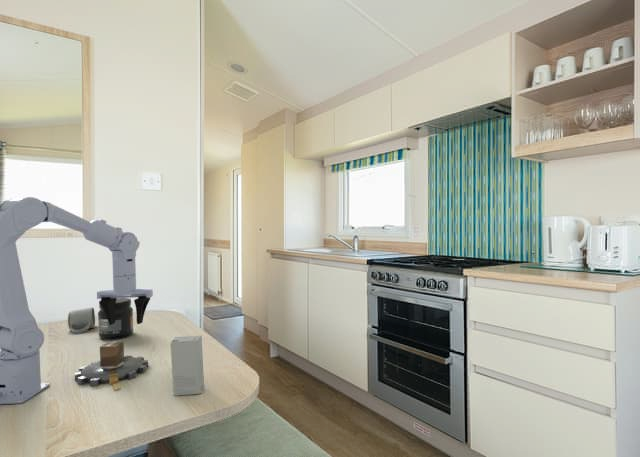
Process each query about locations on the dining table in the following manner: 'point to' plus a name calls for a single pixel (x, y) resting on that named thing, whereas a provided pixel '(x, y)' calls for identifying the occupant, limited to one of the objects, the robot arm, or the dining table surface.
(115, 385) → the pointer
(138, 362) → the sprocket
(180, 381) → the skincare box
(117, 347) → the walnut block
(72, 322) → the ceramic mug
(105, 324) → the supplement container
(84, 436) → the dining table surface
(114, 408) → the dining table surface
